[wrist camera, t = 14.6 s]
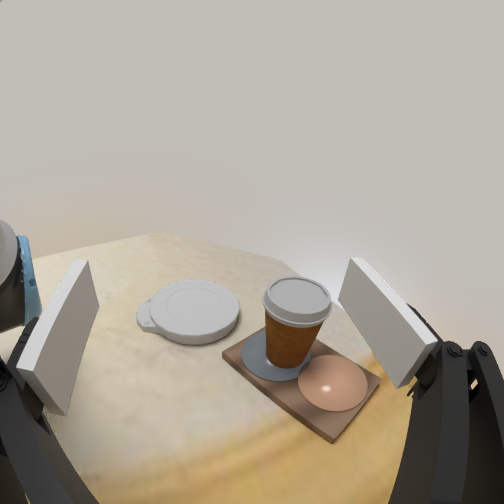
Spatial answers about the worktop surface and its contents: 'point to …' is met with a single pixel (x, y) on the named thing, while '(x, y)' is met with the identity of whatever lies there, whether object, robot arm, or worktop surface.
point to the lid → (190, 312)
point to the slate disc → (266, 361)
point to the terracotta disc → (332, 383)
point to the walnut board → (292, 398)
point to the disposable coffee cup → (293, 318)
